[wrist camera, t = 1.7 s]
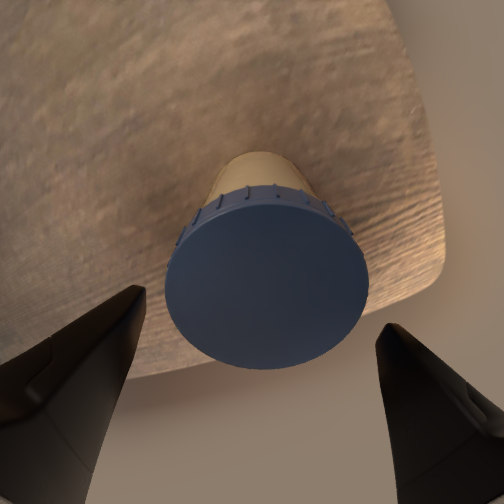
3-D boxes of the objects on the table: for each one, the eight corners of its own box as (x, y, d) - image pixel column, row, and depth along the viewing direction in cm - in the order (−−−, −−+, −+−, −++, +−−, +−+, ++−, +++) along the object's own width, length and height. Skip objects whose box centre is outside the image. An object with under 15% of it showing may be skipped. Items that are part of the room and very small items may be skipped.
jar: (255, 130, 17) (260, 163, 8) (327, 195, 19) (388, 285, 10) (192, 204, 19) (144, 299, 10) (263, 259, 21) (271, 375, 12)
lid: (258, 140, 9) (259, 149, 7) (387, 264, 11) (405, 291, 9) (143, 278, 11) (128, 308, 10) (269, 358, 14) (271, 390, 12)
